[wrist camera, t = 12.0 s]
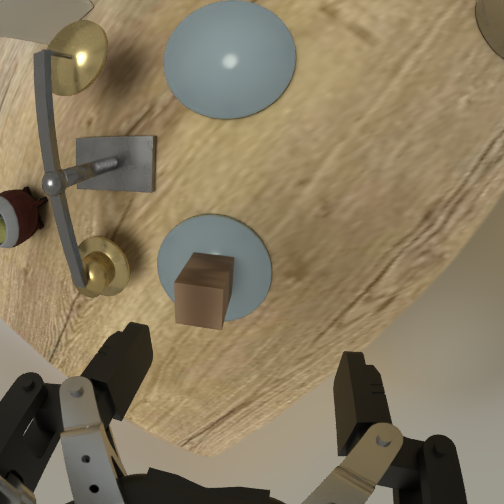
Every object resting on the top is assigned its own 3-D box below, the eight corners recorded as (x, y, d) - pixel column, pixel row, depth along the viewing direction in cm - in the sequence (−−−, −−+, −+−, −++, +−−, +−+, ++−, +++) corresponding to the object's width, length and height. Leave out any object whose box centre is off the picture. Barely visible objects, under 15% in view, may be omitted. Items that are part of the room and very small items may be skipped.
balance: (165, 35, 26) (99, -7, 13) (157, 282, 37) (107, 354, 24) (87, 47, 26) (6, 28, 14) (89, 271, 37) (28, 329, 25)
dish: (278, 220, 33) (278, 223, 32) (265, 323, 38) (264, 327, 37) (159, 208, 33) (155, 211, 32) (162, 308, 38) (160, 312, 37)
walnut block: (234, 256, 34) (223, 289, 27) (232, 293, 35) (221, 330, 29) (193, 252, 34) (173, 282, 27) (193, 288, 35) (175, 323, 29)
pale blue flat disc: (299, 7, 24) (300, 4, 23) (289, 124, 29) (289, 124, 28) (174, 6, 24) (171, 3, 23) (162, 117, 29) (158, 117, 28)
